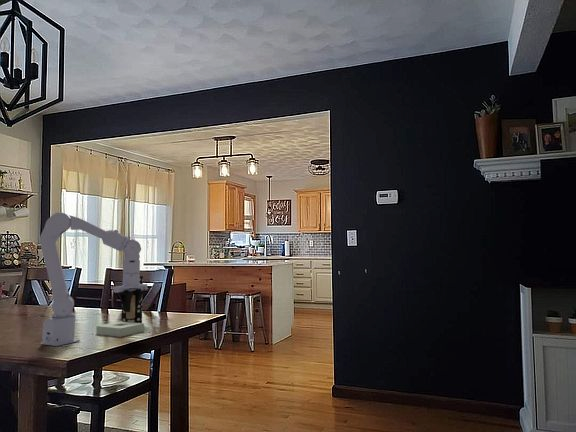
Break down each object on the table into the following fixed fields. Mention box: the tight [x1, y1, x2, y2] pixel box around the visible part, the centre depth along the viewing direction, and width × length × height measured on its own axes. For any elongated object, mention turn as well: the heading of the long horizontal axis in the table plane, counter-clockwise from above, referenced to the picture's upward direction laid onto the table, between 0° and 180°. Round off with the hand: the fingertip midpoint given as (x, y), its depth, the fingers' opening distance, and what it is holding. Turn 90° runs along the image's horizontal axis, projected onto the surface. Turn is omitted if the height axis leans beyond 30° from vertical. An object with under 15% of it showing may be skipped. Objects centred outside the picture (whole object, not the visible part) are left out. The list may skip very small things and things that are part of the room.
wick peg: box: [126, 295, 135, 319], centre depth 167 cm, size 3×3×8 cm
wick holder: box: [95, 320, 145, 338], centre depth 176 cm, size 12×12×3 cm
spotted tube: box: [121, 275, 144, 323], centre depth 198 cm, size 8×8×20 cm
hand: (130, 311), depth 167 cm, fingers closed on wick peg, 3 cm apart
